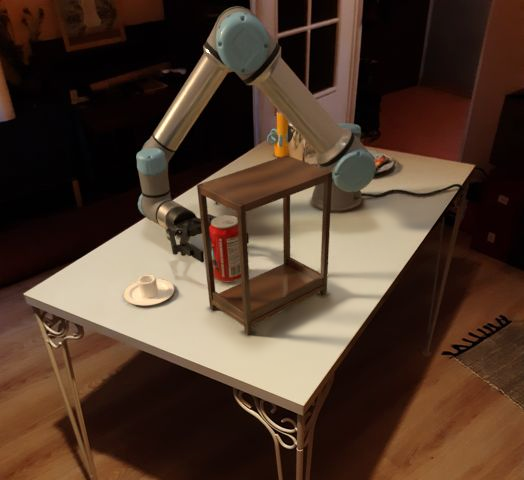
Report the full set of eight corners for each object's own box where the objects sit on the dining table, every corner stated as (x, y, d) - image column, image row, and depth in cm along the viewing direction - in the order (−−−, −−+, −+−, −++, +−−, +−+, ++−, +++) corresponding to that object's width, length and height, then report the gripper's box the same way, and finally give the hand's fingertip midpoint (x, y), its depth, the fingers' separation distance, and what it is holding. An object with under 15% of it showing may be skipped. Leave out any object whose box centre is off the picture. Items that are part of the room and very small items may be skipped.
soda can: (235, 287, 137) (231, 230, 128) (207, 280, 140) (201, 225, 131) (249, 271, 143) (246, 216, 133) (222, 266, 145) (217, 211, 136)
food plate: (406, 165, 197) (408, 155, 195) (366, 185, 184) (367, 174, 182) (349, 150, 211) (350, 140, 209) (308, 167, 198) (309, 157, 196)
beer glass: (286, 165, 201) (285, 121, 192) (305, 163, 201) (306, 120, 192) (288, 172, 195) (288, 127, 186) (308, 170, 196) (309, 126, 187)
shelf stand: (209, 308, 130) (196, 184, 112) (287, 272, 142) (286, 155, 124) (247, 335, 122) (240, 206, 103) (326, 294, 133) (332, 171, 115)
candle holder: (132, 280, 141) (129, 265, 138) (179, 281, 140) (177, 266, 137) (118, 307, 132) (114, 291, 129) (168, 308, 131) (165, 293, 128)
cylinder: (294, 161, 203) (294, 118, 194) (265, 160, 205) (264, 117, 196) (299, 149, 213) (299, 108, 204) (272, 148, 215) (271, 107, 205)
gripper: (216, 218, 158) (265, 244, 145) (139, 247, 146) (184, 279, 133) (214, 193, 153) (264, 217, 140) (134, 220, 141) (180, 250, 128)
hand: (225, 247), depth 137 cm, fingers open, 13 cm apart
